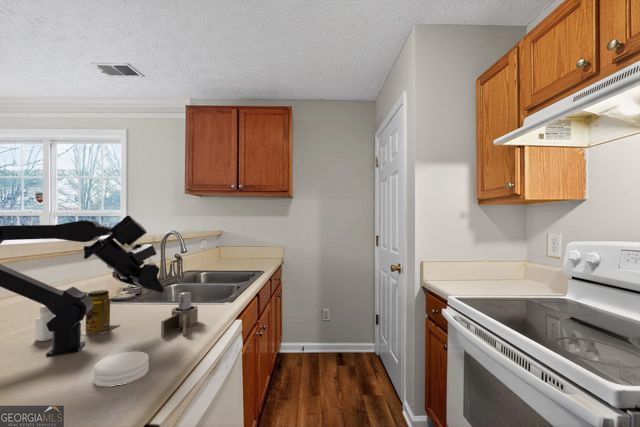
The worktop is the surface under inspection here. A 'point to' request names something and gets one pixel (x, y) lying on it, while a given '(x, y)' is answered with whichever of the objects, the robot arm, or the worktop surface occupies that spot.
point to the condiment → (99, 314)
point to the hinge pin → (184, 301)
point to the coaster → (121, 368)
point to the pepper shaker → (43, 324)
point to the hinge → (179, 320)
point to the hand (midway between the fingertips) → (155, 289)
